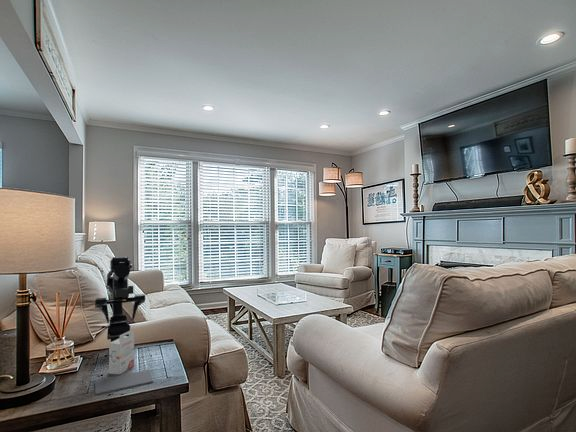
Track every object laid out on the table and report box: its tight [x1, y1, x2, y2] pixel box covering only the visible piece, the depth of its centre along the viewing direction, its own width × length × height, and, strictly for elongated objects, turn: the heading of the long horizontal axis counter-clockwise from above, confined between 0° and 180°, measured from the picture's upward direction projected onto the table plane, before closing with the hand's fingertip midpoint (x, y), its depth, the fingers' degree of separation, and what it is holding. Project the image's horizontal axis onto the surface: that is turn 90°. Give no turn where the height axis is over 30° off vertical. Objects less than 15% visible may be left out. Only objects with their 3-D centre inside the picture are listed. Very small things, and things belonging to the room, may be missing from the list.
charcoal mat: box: [94, 369, 154, 396], centre depth 119 cm, size 11×18×1 cm, turn 121°
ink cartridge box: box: [108, 329, 135, 376], centre depth 130 cm, size 9×5×15 cm, turn 168°
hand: (120, 321), depth 137 cm, fingers open, 9 cm apart
